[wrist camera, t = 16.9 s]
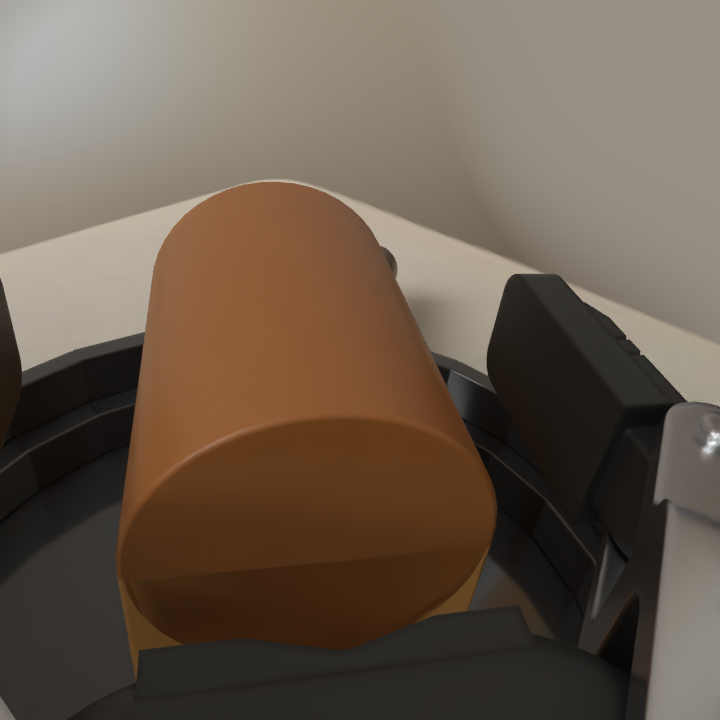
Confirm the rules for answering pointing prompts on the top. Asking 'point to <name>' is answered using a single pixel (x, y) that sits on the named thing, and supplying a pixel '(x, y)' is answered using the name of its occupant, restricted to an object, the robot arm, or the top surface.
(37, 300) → the top surface
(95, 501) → the pan
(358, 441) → the bread loaf
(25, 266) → the top surface
